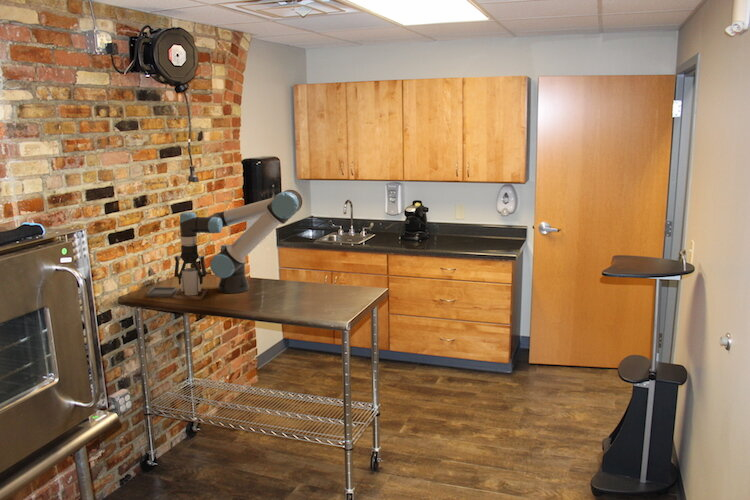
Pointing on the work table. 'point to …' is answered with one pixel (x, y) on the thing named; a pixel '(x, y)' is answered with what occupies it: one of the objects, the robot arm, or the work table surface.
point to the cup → (190, 281)
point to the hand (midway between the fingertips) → (191, 290)
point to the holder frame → (189, 296)
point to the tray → (162, 292)
